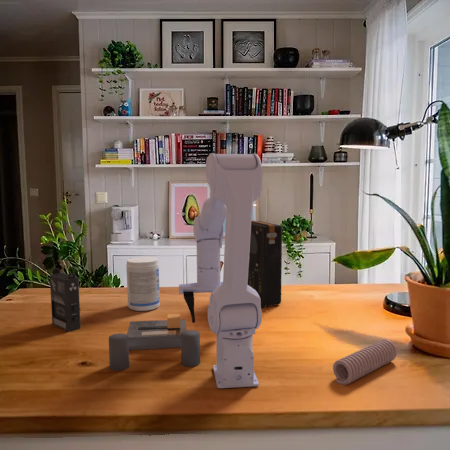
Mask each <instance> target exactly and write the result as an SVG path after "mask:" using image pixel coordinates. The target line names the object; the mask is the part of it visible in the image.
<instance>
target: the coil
mask: <svg viewBox="0 0 450 450" xmlns="http://www.w3.org/2000/svg"><path fill="white" fill-rule="evenodd" d="M397 353H398V352H397V348H396V346H395V344H394V343H393V342H392V341H391V340H389V339H382V340H378V341H377V342H374V343H373V344H370V345H368V346H366V347H363V348H362V349H359V350H358V351H355V352H353V353H350V354H348V355H346V356H345V357H342V358H340V359H337V360H335V362H333V365H332V371H333V375H334V376H335V377H336V380H335V383H338V384H339V385H342V386H347V385H350V384H351V383H353V382H355V381H357V380H358V379H361V378H362V377H364V376H366V375H368V374H371V373H372V372H373V371H376V370H377V369H380V368H382V367H384V366H386V365H387V364H389V363H391V362H392V361H394V360H395V359H396V357H397V355H398V354H397Z"/></svg>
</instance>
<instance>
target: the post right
mask: <svg viewBox="0 0 450 450" xmlns="http://www.w3.org/2000/svg"><path fill="white" fill-rule="evenodd" d="M200 334H201V333H200V331H198V330H192V329H190V330H187V331H184V332H182V333H181V348H180V353H181V354H180V358H181V359H180V360H181V361H180V362H181V363H180V364H181V365H182V366H184V367H187V368H192V367H193V368H194V367H196V366H199V365H201V338H200V337H201V336H200Z"/></svg>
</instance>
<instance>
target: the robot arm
mask: <svg viewBox="0 0 450 450" xmlns="http://www.w3.org/2000/svg"><path fill="white" fill-rule="evenodd" d="M263 171H264V169H263V164H262V161H261V158H260V156H259V155H258V154H257V153H250V154H249V153H246V154H245V153H215V152H211V153H210V154H209V155H208V156H207V158H206V162H205V177H206V182H207V184H208V186H209V189H210V196H209V197H208V198H207V199H205V201H204V202H203V204H202V208H201V211H200V214H199V215H198V216H195V218H194V220H193V229H192V230H193V237H194V240H195V242H196V282H191V283H190V282H189V283H181V284H178V295H183V299H184V301H185V303H186V305H187V307H188V311H189V312H190V317H191V323H192V324H194V323H196V315H195V294H197V293H198V294H199V293H201V294H202V293H210V296H209V303H208V304H207V306H208V307H207V321H208V326H209V327H208V328H209V329H210V331H211V332H212V333H213V334H216V337H215V338H216V342H215V343H216V347H215V348H216V364H213V366H212V369H213V373H214V379H215V384H216V387H217V388H218V389H228V388H229V389H230V388H247V387H250V388H251V387H259V385H260V382H259V381H258V377H257V375H256V373H255V369H254V368H255V355H254V351H253V341H254V340H253V339H254V337H253V335H256V330H257V329H259V328H260V326H261V325H262V320H263V314H262V313H263V312H262V307H261V299H260V297H259V295H258V293H257V291H256V290H254V289H253V288H252V287H250V286H249V285H247V284H248V268H249V252H250V236H251V220H253V219H252V217H253V208H254V202H255V201H257V200H259V199H260V198H261V196H262V195H261V194H262V193H261V192H262V189H263V188H262V187H263V174H264V173H263ZM224 224H225V228H224ZM223 238H224V248H223V249H224V251H223V252H224V253H223V254H224V255H223V256H224V257H223V273H222V274H223V277H222V281H221V249H222V247H223Z"/></svg>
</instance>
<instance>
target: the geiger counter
mask: <svg viewBox="0 0 450 450" xmlns="http://www.w3.org/2000/svg"><path fill="white" fill-rule="evenodd" d="M60 269H61V268H60V267H59V268H53V269H52V274H51V273H50V274H49V285H50V286H49V287H50V290H49V291H50V303H51V304H50V306H51V307H50V308H51V322H52V323H51V325H53V326H54V327H57V328H60V329H61V330H63V331H65V332H74V331H76V330H77V331H78V330H81V328H82V327H81V306H80V305H81V304H80V286H79V285H80V284H79V283H80V282H79V277H78V276H76V272H71V273H66V274H65V273H64V272H61V270H60Z"/></svg>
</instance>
